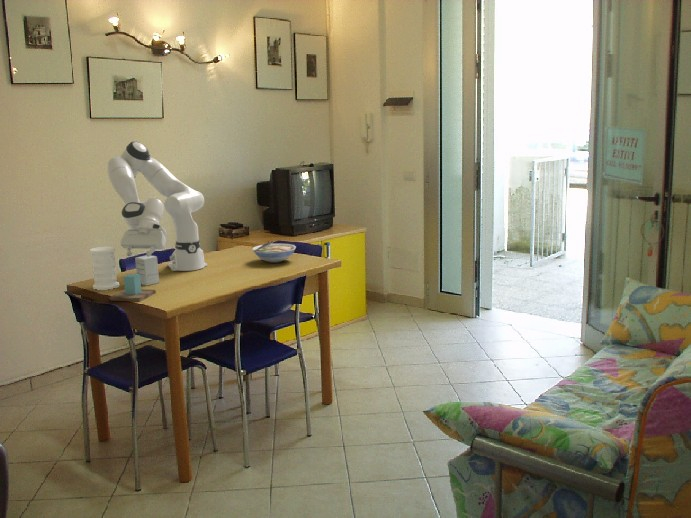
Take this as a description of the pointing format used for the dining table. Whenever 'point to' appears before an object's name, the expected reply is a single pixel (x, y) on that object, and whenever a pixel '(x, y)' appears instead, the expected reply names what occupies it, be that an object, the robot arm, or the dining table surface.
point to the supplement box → (147, 269)
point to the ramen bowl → (274, 251)
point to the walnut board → (132, 296)
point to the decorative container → (104, 268)
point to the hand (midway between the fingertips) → (138, 255)
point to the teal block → (132, 284)
